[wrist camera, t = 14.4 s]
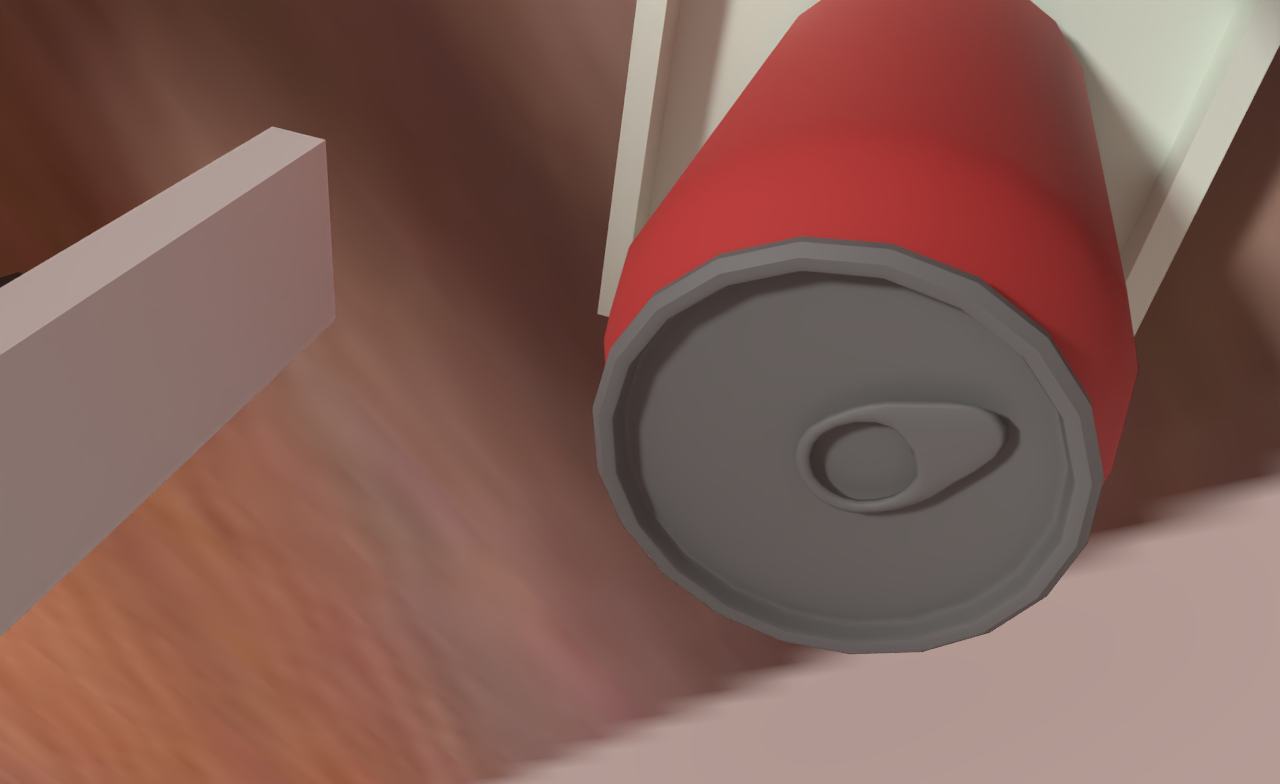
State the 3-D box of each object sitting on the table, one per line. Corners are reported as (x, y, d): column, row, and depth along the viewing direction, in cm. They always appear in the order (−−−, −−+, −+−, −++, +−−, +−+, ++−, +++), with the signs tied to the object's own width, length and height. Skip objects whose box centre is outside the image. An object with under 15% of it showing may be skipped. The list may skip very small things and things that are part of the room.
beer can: (1132, 211, 20) (1240, 648, 11) (830, 313, 23) (704, 719, 14) (1021, -112, 18) (1031, 79, 8) (702, 50, 21) (444, 322, 12)
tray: (620, 280, 25) (597, 314, 24) (693, -239, 19) (667, -236, 17) (1074, 404, 24) (1078, 448, 22) (1328, -125, 17) (1357, -111, 16)
